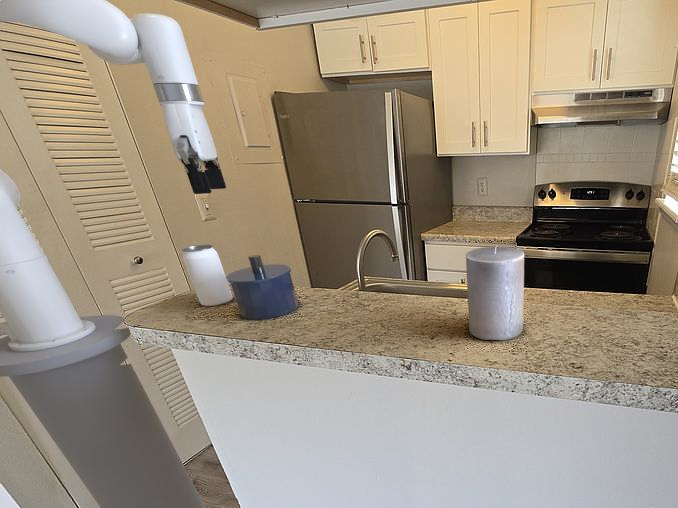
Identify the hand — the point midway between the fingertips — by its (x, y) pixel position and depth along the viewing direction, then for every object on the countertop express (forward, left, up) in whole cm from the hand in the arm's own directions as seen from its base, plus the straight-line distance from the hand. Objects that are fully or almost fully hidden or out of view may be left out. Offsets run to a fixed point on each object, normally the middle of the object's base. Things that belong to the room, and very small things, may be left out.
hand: (211, 191), depth 87 cm
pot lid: (+10, -17, -15) cm, 24 cm away
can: (-3, -8, -22) cm, 24 cm away
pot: (+10, -17, -22) cm, 29 cm away
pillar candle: (+53, -41, -22) cm, 70 cm away
